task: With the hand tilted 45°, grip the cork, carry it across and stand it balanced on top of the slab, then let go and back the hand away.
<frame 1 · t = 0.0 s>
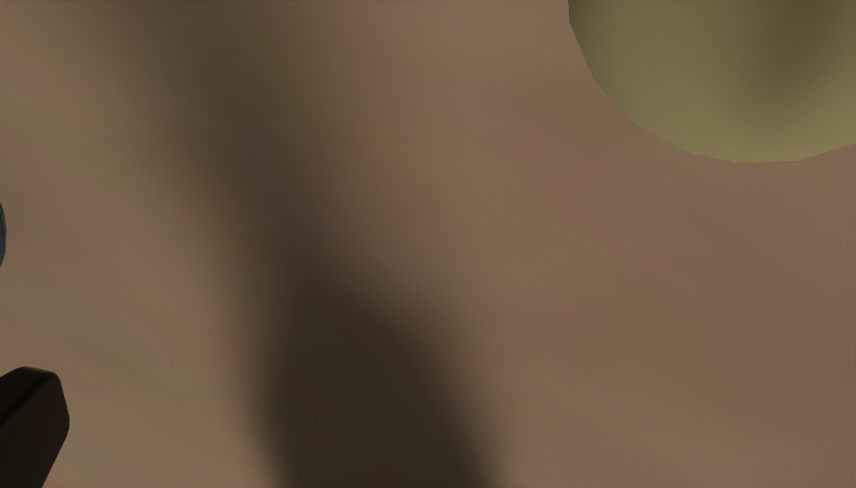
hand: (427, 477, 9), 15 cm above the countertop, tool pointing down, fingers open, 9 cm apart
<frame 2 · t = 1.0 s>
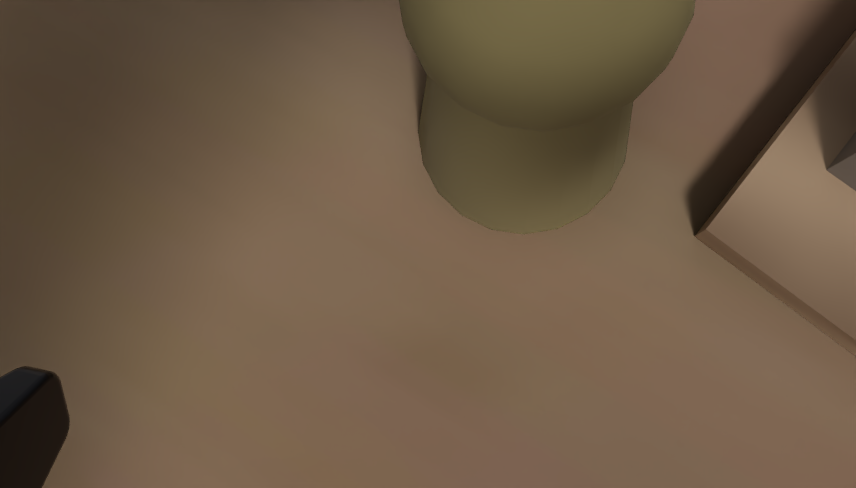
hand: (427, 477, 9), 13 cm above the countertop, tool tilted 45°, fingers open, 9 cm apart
cork: (522, 132, 24), on the countertop
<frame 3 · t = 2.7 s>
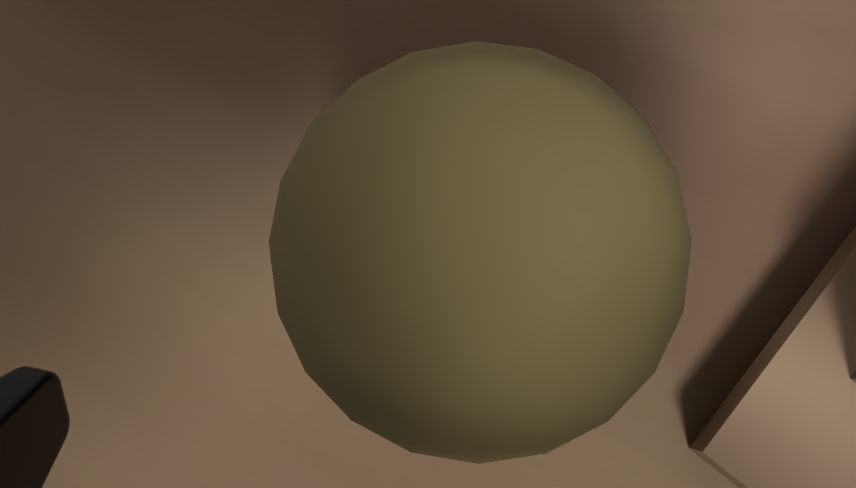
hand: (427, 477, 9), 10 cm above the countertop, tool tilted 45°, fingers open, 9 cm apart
cork: (480, 312, 20), on the countertop
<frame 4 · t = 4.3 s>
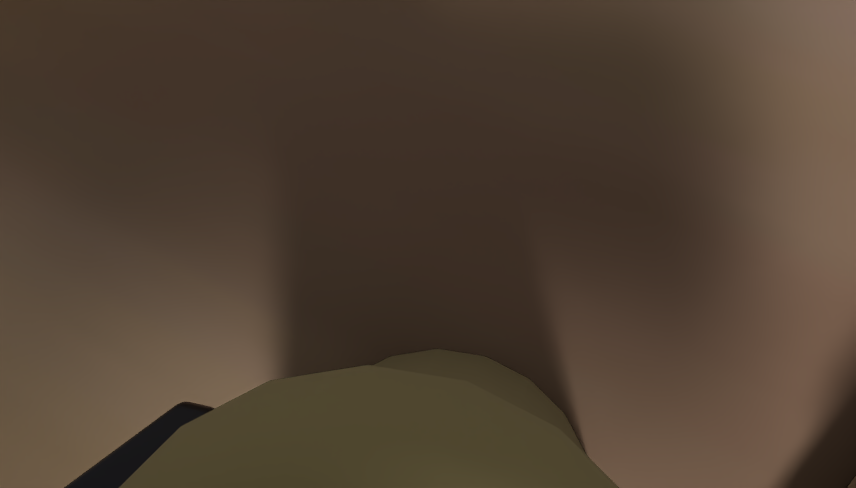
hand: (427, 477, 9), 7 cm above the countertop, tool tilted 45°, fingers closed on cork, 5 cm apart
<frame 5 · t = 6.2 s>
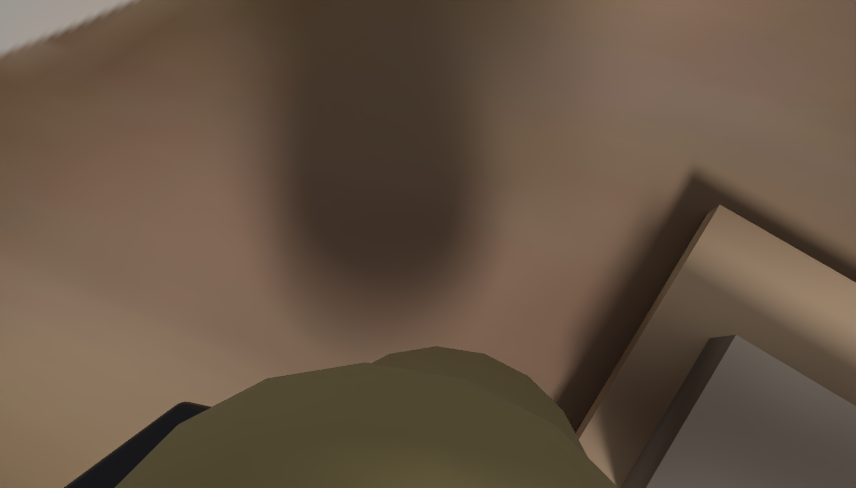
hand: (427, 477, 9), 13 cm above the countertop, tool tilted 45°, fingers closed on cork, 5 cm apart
when the fingers open (11 cm above the countertop, at t = 8.2 s): cork stays where it is, resting on slab.
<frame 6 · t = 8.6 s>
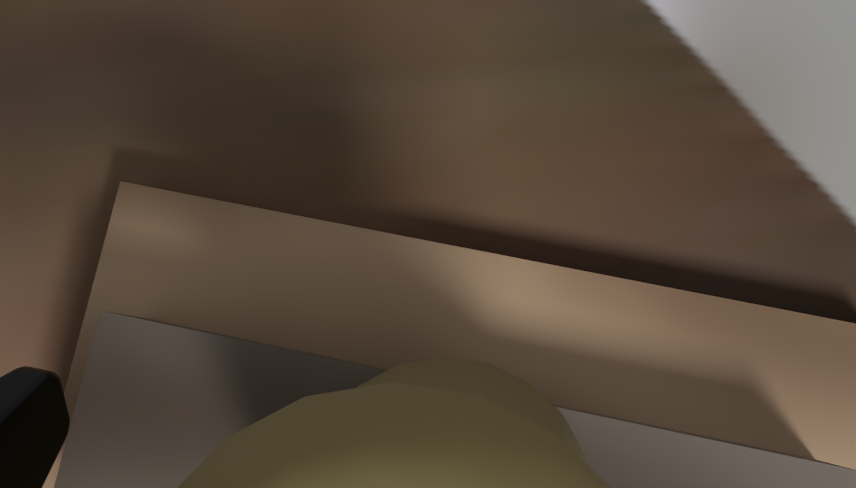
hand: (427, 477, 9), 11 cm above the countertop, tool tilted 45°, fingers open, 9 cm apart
slab: (448, 478, 20), on the countertop
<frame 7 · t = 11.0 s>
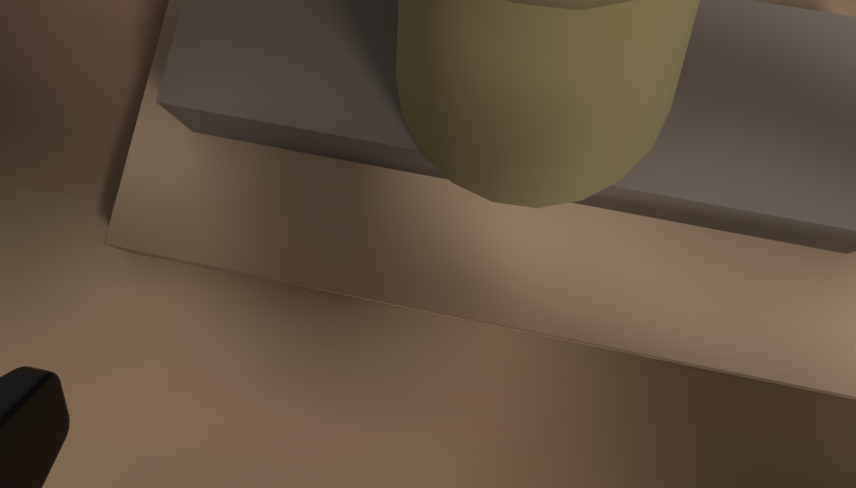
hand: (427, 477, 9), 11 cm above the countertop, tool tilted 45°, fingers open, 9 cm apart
cork: (533, 75, 18), point 3 cm above the countertop, touching slab
slab: (522, 115, 21), on the countertop
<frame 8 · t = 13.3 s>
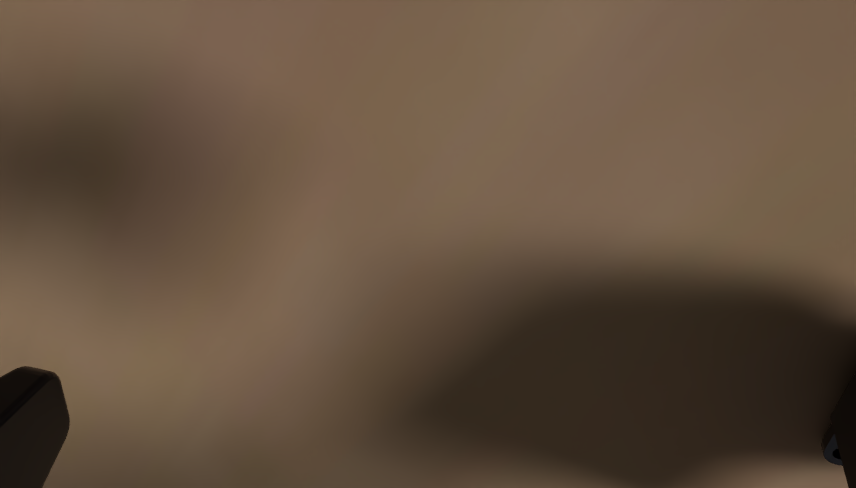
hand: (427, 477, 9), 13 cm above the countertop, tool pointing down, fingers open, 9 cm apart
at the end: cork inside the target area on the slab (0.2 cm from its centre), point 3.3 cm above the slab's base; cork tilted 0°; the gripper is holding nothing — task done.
